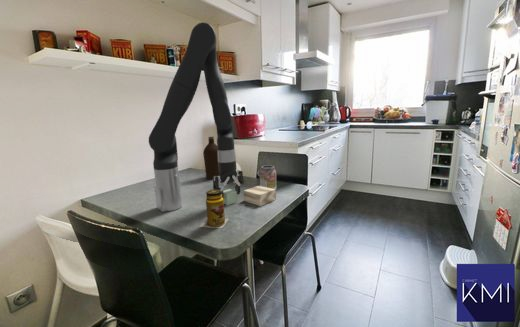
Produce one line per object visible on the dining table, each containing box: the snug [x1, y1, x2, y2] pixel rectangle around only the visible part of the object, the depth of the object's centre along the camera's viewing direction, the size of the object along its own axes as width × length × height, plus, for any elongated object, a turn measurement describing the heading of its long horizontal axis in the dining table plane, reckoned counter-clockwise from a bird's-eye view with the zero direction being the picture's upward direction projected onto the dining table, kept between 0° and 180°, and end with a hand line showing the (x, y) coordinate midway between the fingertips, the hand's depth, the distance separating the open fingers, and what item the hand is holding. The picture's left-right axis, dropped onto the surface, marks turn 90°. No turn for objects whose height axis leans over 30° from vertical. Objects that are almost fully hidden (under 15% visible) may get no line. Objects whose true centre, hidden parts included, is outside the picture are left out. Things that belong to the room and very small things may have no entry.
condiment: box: [198, 189, 229, 229], centre depth 87 cm, size 7×8×12 cm
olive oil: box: [202, 136, 220, 180], centre depth 151 cm, size 11×11×25 cm
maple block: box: [243, 184, 277, 207], centre depth 109 cm, size 10×10×5 cm
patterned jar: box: [256, 164, 277, 190], centre depth 122 cm, size 9×8×12 cm
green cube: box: [222, 188, 238, 206], centre depth 108 cm, size 5×5×5 cm
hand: (229, 196), depth 108 cm, fingers open, 8 cm apart
